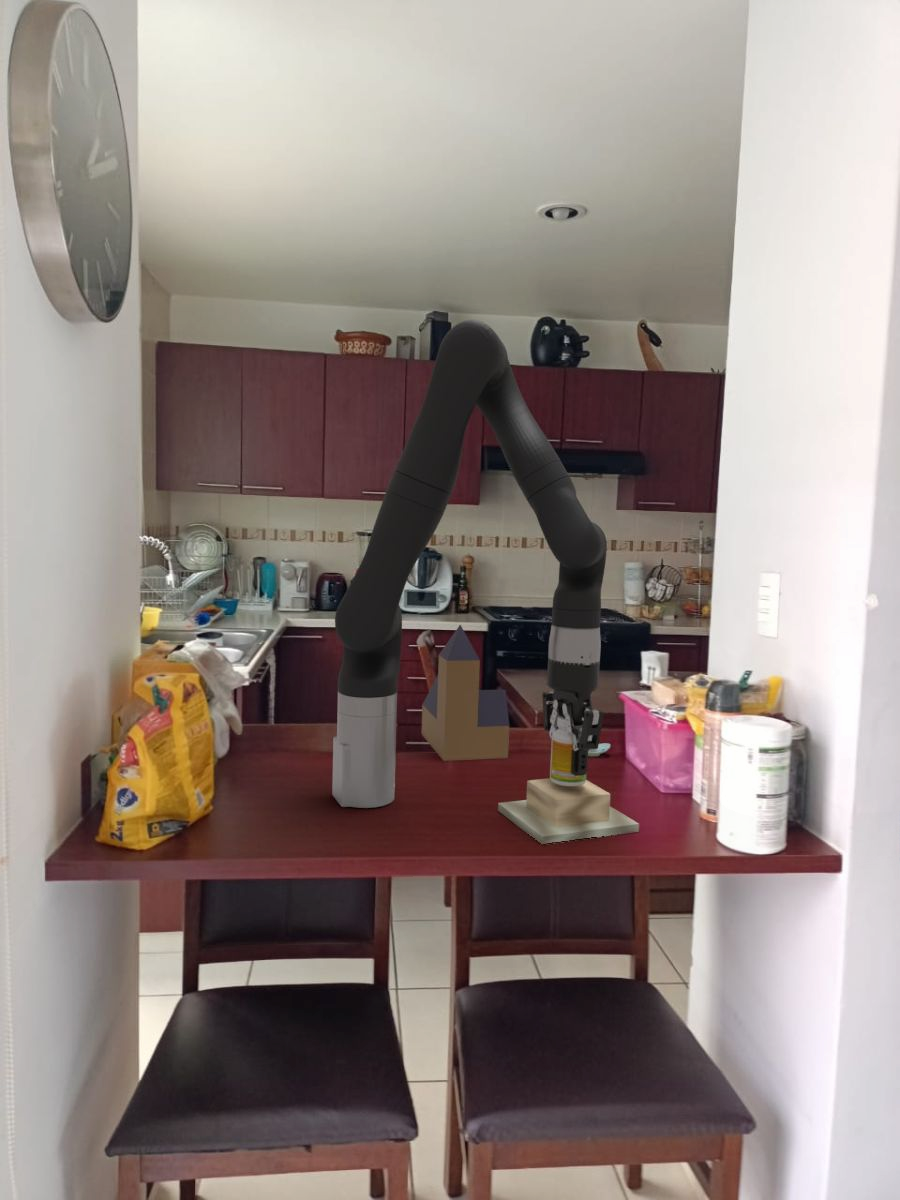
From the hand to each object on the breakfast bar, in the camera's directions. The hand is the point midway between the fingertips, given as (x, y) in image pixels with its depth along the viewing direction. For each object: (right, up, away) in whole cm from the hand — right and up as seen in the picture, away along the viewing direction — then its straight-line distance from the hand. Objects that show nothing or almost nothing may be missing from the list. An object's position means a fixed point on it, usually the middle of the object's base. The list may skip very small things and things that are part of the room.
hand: (568, 768), depth 123 cm
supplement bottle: (0, -2, 0) cm, 2 cm away
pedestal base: (0, -8, +1) cm, 8 cm away
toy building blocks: (-15, -4, +40) cm, 43 cm away
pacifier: (+9, -5, +37) cm, 38 cm away
